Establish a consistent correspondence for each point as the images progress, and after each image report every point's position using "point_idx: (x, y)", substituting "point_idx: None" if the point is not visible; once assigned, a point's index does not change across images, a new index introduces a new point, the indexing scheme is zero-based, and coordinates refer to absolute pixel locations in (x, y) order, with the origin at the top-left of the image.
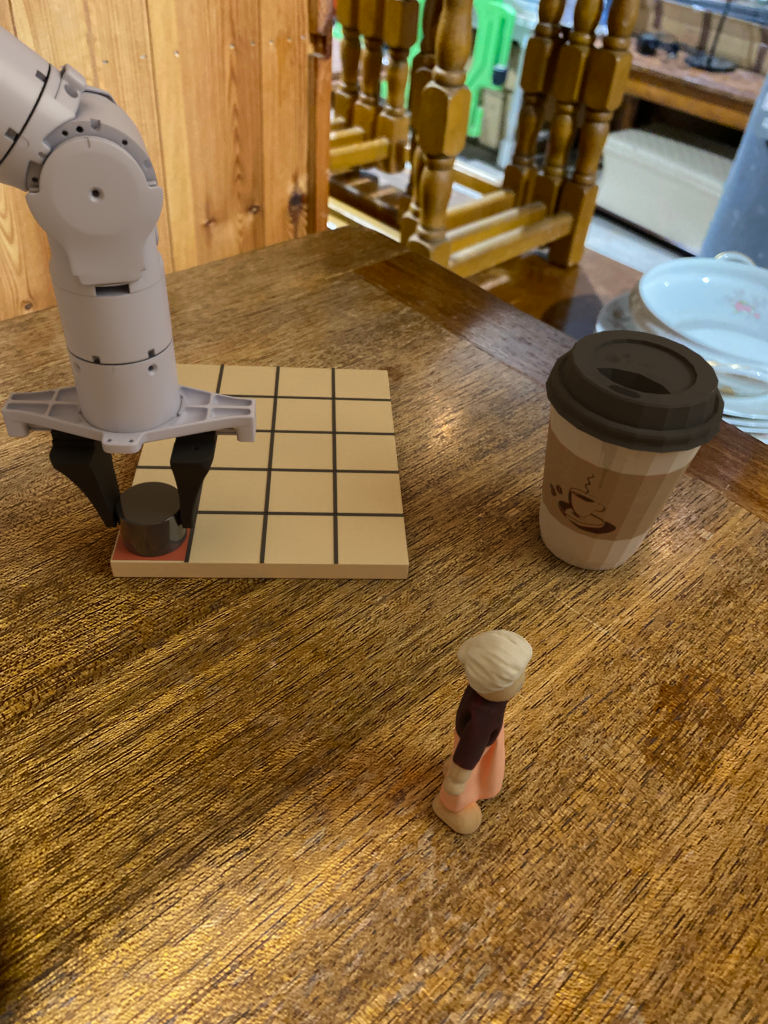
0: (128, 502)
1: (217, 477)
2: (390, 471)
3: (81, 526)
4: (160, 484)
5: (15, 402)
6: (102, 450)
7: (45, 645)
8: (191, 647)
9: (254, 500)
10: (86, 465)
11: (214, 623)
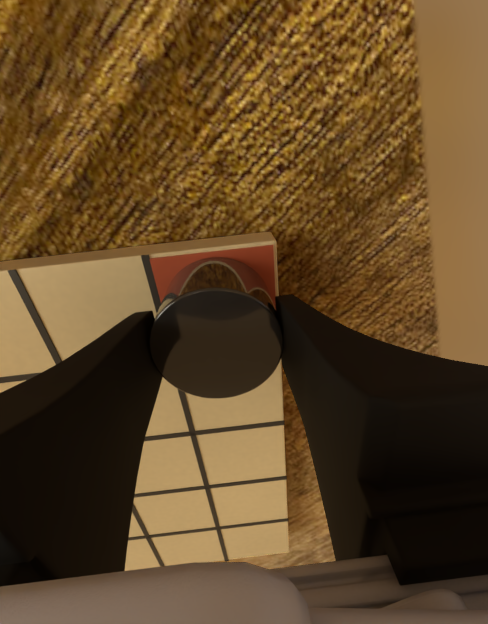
0: (257, 343)
1: (167, 422)
2: None
3: (338, 322)
4: (212, 393)
5: None
6: (330, 462)
7: (350, 46)
8: (80, 68)
9: None
10: (382, 398)
11: (66, 141)
